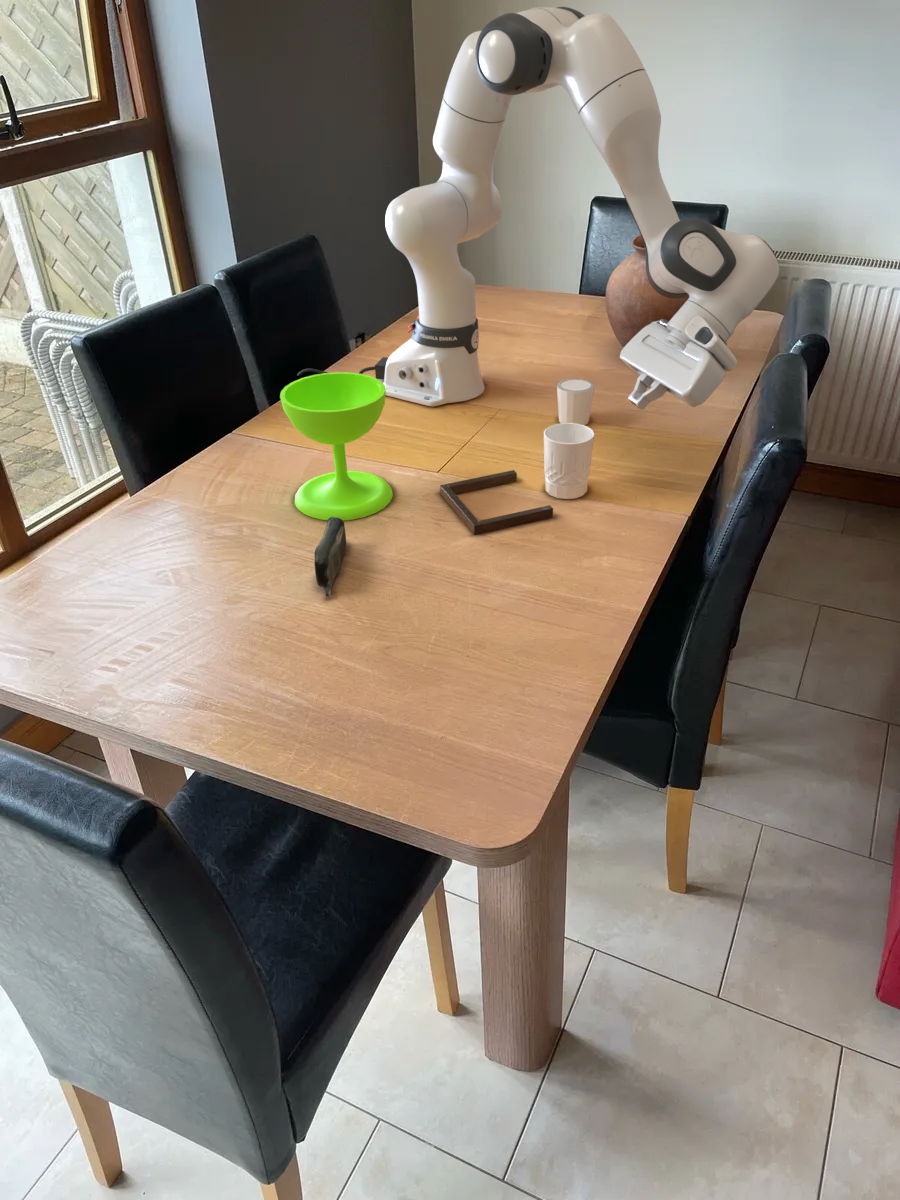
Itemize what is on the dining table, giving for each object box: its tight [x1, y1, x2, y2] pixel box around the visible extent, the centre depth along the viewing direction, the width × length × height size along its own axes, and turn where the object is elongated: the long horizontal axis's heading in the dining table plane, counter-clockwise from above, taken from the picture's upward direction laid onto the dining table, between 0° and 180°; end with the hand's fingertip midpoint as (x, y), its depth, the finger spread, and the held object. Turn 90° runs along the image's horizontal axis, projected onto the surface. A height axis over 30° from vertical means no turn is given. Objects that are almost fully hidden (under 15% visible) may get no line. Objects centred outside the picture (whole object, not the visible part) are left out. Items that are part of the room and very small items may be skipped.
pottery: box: [604, 234, 689, 349], centre depth 193 cm, size 23×23×25 cm
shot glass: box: [556, 378, 595, 426], centre depth 170 cm, size 7×7×7 cm
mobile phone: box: [314, 517, 347, 598], centre depth 130 cm, size 5×3×15 cm
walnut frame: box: [439, 469, 554, 536], centre depth 145 cm, size 13×14×2 cm
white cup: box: [543, 422, 595, 500], centre depth 146 cm, size 8×8×10 cm
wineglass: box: [279, 371, 394, 522], centre depth 144 cm, size 16×16×18 cm
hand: (634, 404), depth 145 cm, fingers closed
